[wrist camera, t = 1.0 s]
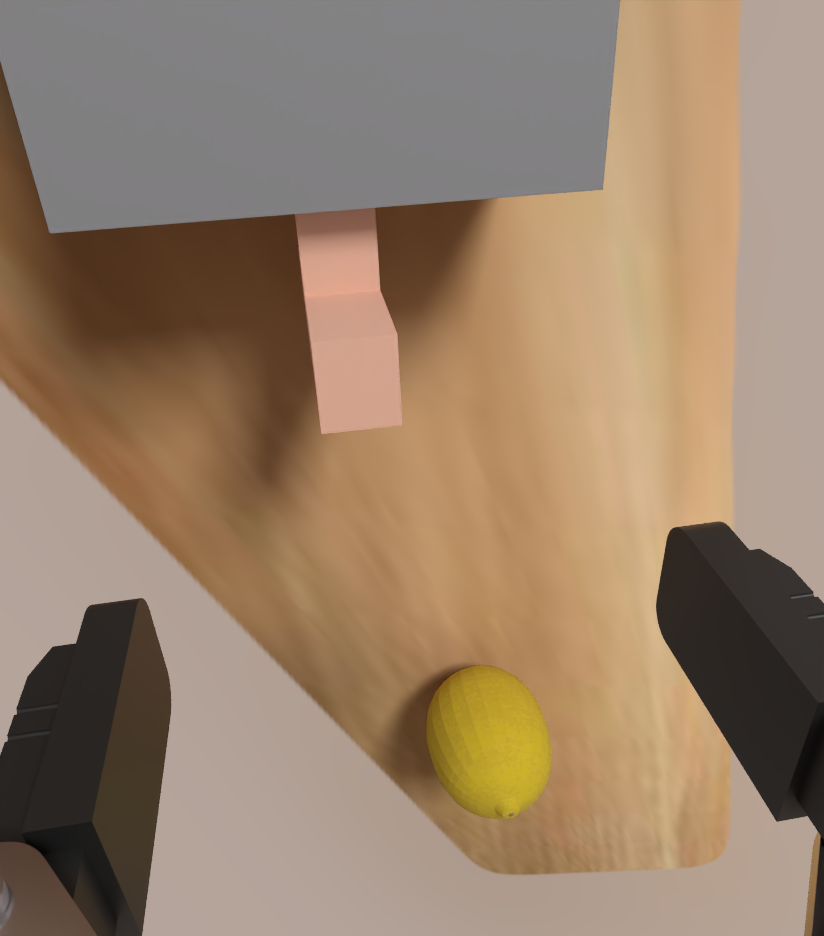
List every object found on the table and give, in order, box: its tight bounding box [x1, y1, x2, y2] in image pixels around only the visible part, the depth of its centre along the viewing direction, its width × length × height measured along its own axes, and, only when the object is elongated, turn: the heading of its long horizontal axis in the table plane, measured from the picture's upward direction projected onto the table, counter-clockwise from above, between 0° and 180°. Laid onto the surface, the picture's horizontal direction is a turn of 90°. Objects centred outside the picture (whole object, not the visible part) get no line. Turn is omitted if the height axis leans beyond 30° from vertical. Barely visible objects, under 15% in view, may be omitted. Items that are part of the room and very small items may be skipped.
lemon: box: [426, 665, 551, 819], centre depth 35 cm, size 6×6×8 cm
